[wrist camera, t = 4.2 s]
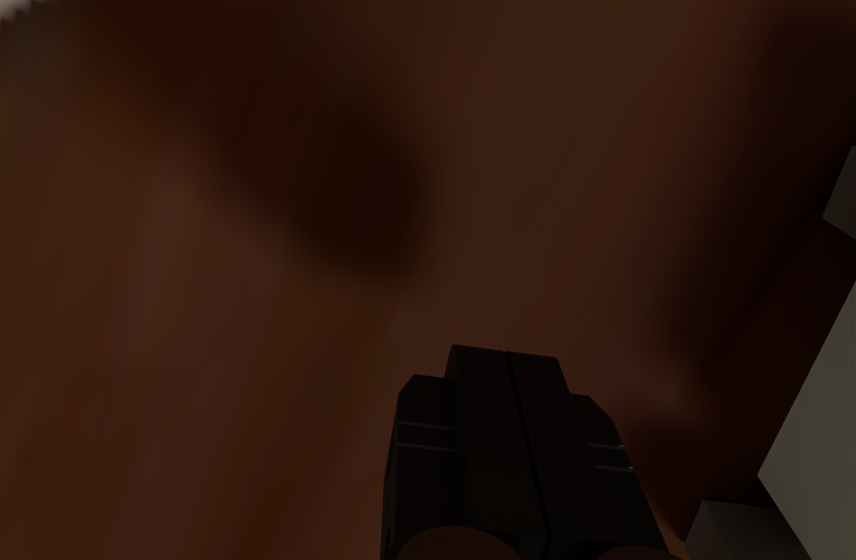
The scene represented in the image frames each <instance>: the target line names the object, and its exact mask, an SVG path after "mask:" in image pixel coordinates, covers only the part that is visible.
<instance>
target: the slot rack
mask: <svg viewBox="0 0 856 560" xmlns="http://www.w3.org/2000/svg"><path fill="white" fill-rule="evenodd" d="M822 218H823V219H824V220H826V221H827V222H829V223H831V224H832V225H834V226H835V227H837V228H838V229H840V230H841V231H843V232H844V233H846V234H848V235H849V236H851V237H852V238H854V239H855V240H856V146H852V147H851V149H850V152H849V154H848V156H847V159H846V161H845V164H844V166H843V168H842V171H841V173H840V175H839V178H838V180H837V183H836V185H835V187H834V190H833V192H832V194H831V197H830V199H829V202H828V204H827V206H826V209H825V211H824V213H823V216H822ZM684 546H685V548H686V550H687V552H688V555H689V557H690V559H691V560H812V559H811V557H810V556H809V554H808V552H807V551H806V549H805V548H804V546H803V545H802V543H801V542H800V540H799V539H798V537H797V536H796V534H795V533H794V531H793V529H792V528H791V526H790V525H789V523H788V522H787V520H786V519H785V517H784V516H783V514H782V513H781V511H780V509H777V508H769V507H760V506H752V505H743V504H735V503H726V502H717V501H709V500H702V503H701V505H700V507H699V510H698V512H697V515H696V517H695V519H694V522H693V524H692V526H691V529H690V531H689V534H688V536H687V538H686V541H685V543H684Z"/></svg>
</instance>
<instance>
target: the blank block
mask: <svg viewBox="0 0 856 560" xmlns="http://www.w3.org/2000/svg"><path fill="white" fill-rule="evenodd" d="M757 476H758V477H759V479H760V480H761V482H762V483H763V485H764V486H765V488H766V490H767V491H768V493H769V494H770V496H771V497H772V499H773V500H774V502H775V503H776V505H777V506H778V508H779V509H780V511H781V513H782V514H783V516H784V517H785V519H786V520H787V522H788V523H789V525H790V526H791V528H792V529H793V531H794V533H795V534H796V536H797V537H798V539H799V540H800V542H801V543H802V545H803V546H804V548H805V549H806V551H807V552H808V554H809V556H810V557H811V559H812V560H856V281H855V283H854V285H853V287H852V289H851V291H850V293H849V295H848V297H847V299H846V301H845V303H844V305H843V307H842V309H841V311H840V313H839V315H838V317H837V319H836V321H835V323H834V325H833V327H832V329H831V331H830V333H829V335H828V337H827V339H826V341H825V343H824V344H823V346H822V348H821V350H820V352H819V354H818V356H817V358H816V360H815V362H814V364H813V366H812V368H811V370H810V372H809V374H808V376H807V378H806V380H805V382H804V384H803V386H802V388H801V390H800V392H799V394H798V396H797V398H796V400H795V402H794V404H793V406H792V407H791V409H790V411H789V413H788V415H787V417H786V419H785V421H784V423H783V425H782V427H781V429H780V431H779V433H778V435H777V437H776V439H775V441H774V443H773V445H772V447H771V449H770V451H769V453H768V455H767V457H766V459H765V461H764V463H763V465H762V467H761V469H760V470H759V472H758V474H757Z"/></svg>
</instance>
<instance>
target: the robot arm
mask: <svg viewBox="0 0 856 560" xmlns="http://www.w3.org/2000/svg"><path fill="white" fill-rule="evenodd" d="M632 468H633V467H632V464H631V462H630V460H629V458H628V455H627V453H626V451H623V444H622V441H621V439H620V437H619V434H618V432H617V430H616V427H615V425H614V423H613V420H612V419H611V418H610V417H609V416H608V415H607V414H606V413H605V412H604V411H603V410H602V409H601V408H600V407H599V406H598V405H597V404H596V403H595V402H594V401H593V400H592V399H591V398H590V397H589V396H587V395H579V394H571V393H570V392H569V390H568V387H567V384H566V381H565V379H564V376H563V373H562V370H561V367H560V365H559V362H558V360H557V359H556V358H555V357H549V356H541V355H533V354H526V353H518V352H510V351H505V352H503V351H501V350H493V349H485V348H478V347H470V346H462V345H454V344H453V345H452V347H451V349H450V353H449V356H448V361H447V366H446V371H445V376H444V378H441V377H432V376H424V375H416V374H414V375H413V376H412V377H411V379H410V380H409V381H408V383H407V384H406V385H405V386H404V388H403V389H402V390H401V391H400V393H399V395H398V401H397V407H396V412H395V418H394V424H393V430H392V436H391V442H390V447H389V453H388V459H387V465H386V471H385V477H384V491H383V512H382V529H381V531H382V534H381V548H380V560H682V559H680V558H678V557H676V556H674V555H672V554H670V553H669V551H668V548H667V546H666V544H665V541H664V539H663V537H662V534H661V532H660V530H659V527H658V525H657V523H656V520H655V518H654V516H653V513H652V511H651V509H650V506H649V504H648V502H647V499H646V497H645V495H644V492H643V490H642V488H641V485H640V483H639V481H638V478H637V476H636V474H635V473H632Z"/></svg>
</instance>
